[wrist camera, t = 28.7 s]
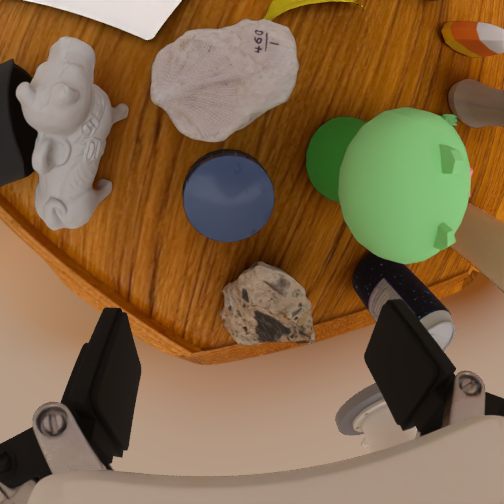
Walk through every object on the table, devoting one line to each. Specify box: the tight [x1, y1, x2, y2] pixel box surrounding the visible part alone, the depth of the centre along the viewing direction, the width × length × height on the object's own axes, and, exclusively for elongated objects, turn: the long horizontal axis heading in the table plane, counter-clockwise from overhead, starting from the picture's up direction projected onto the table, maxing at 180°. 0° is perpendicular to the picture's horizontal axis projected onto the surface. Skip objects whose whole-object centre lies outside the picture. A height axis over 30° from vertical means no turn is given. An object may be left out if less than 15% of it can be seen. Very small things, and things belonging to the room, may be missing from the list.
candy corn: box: [441, 21, 504, 58], centre depth 15 cm, size 6×3×8 cm, turn 86°
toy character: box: [306, 107, 473, 264], centre depth 19 cm, size 10×18×13 cm, turn 100°
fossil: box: [150, 19, 299, 142], centre depth 18 cm, size 9×6×10 cm
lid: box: [183, 151, 274, 242], centre depth 23 cm, size 7×7×2 cm
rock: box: [219, 261, 315, 346], centre depth 27 cm, size 9×7×10 cm
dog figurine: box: [16, 37, 129, 231], centre depth 15 cm, size 5×13×11 cm, turn 164°
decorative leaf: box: [263, 0, 366, 21], centre depth 16 cm, size 10×2×3 cm, turn 111°
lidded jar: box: [449, 203, 504, 292], centre depth 23 cm, size 6×6×13 cm
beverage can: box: [353, 253, 456, 351], centre depth 25 cm, size 6×6×12 cm
